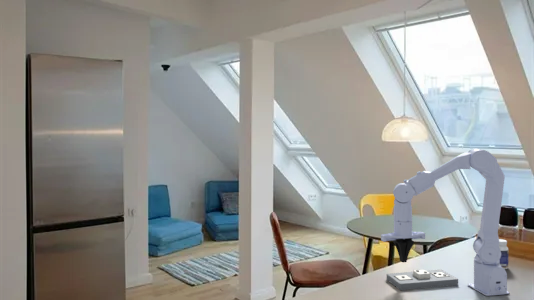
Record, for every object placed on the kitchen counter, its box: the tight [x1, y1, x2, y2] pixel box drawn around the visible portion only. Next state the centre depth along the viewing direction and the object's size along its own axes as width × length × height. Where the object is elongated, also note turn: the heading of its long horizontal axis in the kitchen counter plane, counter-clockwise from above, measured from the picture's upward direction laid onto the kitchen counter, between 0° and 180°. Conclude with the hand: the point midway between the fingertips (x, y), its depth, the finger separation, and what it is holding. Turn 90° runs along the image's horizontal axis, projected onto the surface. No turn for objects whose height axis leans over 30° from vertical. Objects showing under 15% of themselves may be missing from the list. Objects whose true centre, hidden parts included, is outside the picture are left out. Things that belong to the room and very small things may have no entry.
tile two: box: [412, 269, 430, 279], centre depth 147 cm, size 4×4×2 cm
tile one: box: [395, 275, 412, 281], centre depth 146 cm, size 4×4×2 cm
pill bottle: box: [499, 238, 510, 270], centre depth 160 cm, size 6×6×10 cm
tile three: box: [431, 272, 449, 278], centre depth 148 cm, size 4×4×2 cm
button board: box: [386, 269, 459, 291], centre depth 147 cm, size 10×20×2 cm, turn 99°
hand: (403, 261), depth 146 cm, fingers closed
